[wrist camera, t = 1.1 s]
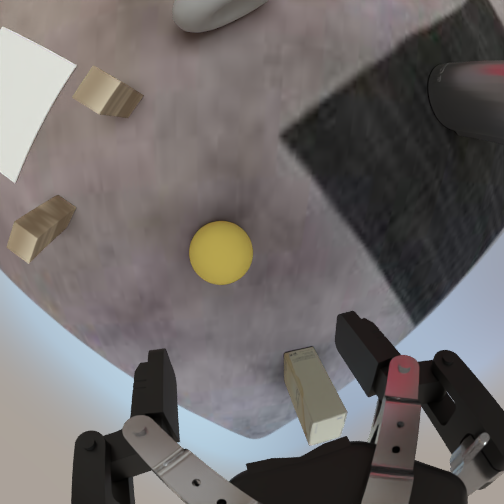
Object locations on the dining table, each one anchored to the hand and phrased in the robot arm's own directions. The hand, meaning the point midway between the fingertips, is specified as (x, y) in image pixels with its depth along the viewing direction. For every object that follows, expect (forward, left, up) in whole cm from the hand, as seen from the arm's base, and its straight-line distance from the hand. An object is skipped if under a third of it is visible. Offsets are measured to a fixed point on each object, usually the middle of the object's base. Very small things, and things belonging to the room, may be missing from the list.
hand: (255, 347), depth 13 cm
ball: (-1, +2, -16) cm, 16 cm away
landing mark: (+29, +2, -19) cm, 35 cm away
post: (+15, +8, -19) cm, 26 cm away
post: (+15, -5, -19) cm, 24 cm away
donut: (+13, -17, -19) cm, 29 cm away
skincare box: (-21, +11, -19) cm, 31 cm away
